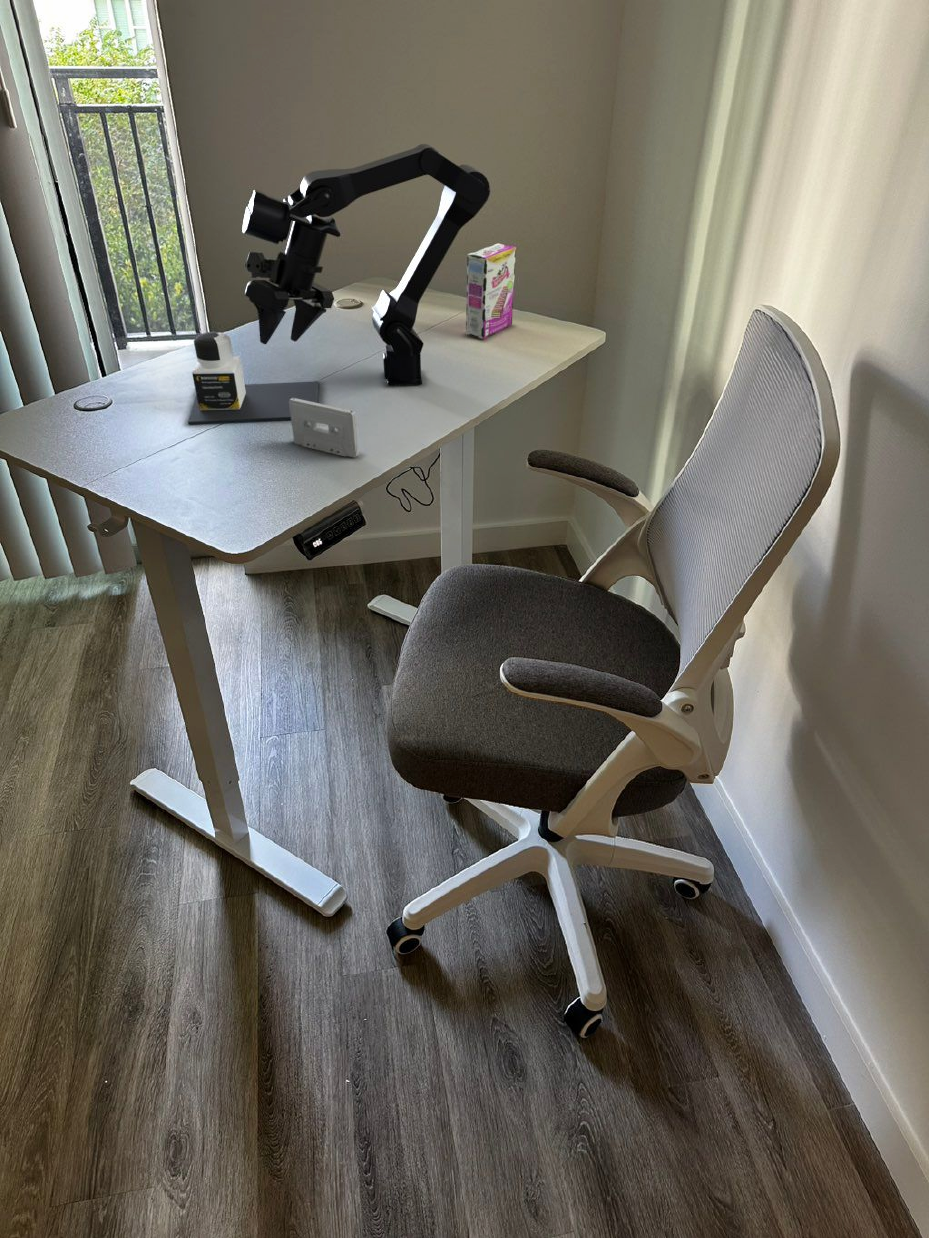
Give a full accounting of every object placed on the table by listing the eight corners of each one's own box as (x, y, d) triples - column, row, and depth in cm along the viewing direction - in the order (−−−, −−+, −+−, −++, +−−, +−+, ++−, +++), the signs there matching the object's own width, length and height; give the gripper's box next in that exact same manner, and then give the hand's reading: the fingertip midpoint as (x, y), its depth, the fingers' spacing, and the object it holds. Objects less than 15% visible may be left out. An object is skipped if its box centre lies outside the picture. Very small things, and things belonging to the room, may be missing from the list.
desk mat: (319, 384, 160) (318, 381, 160) (318, 418, 149) (317, 415, 148) (199, 389, 158) (198, 386, 158) (188, 425, 146) (187, 421, 146)
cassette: (360, 454, 138) (357, 410, 133) (354, 459, 137) (350, 415, 132) (298, 439, 142) (293, 396, 137) (292, 444, 141) (286, 400, 136)
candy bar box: (484, 340, 178) (486, 258, 168) (465, 335, 181) (465, 254, 170) (514, 325, 185) (517, 245, 175) (494, 321, 188) (496, 241, 178)
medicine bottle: (199, 411, 149) (185, 343, 142) (206, 394, 155) (194, 328, 148) (240, 410, 150) (229, 343, 142) (246, 393, 155) (235, 327, 148)
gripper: (296, 236, 153) (273, 320, 161) (230, 230, 137) (208, 323, 145) (346, 262, 151) (321, 346, 159) (286, 259, 135) (260, 353, 143)
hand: (278, 342), depth 151 cm, fingers open, 9 cm apart
